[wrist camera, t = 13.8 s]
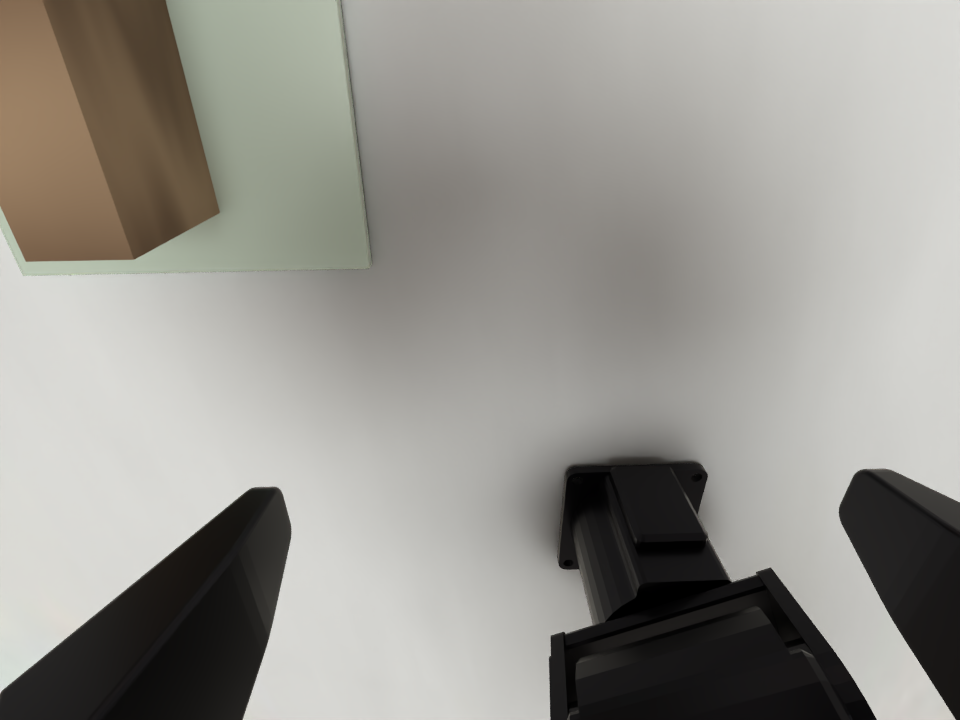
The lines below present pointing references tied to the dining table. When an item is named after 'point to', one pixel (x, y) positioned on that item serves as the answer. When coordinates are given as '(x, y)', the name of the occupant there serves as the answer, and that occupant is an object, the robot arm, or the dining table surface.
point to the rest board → (261, 144)
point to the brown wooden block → (96, 130)
